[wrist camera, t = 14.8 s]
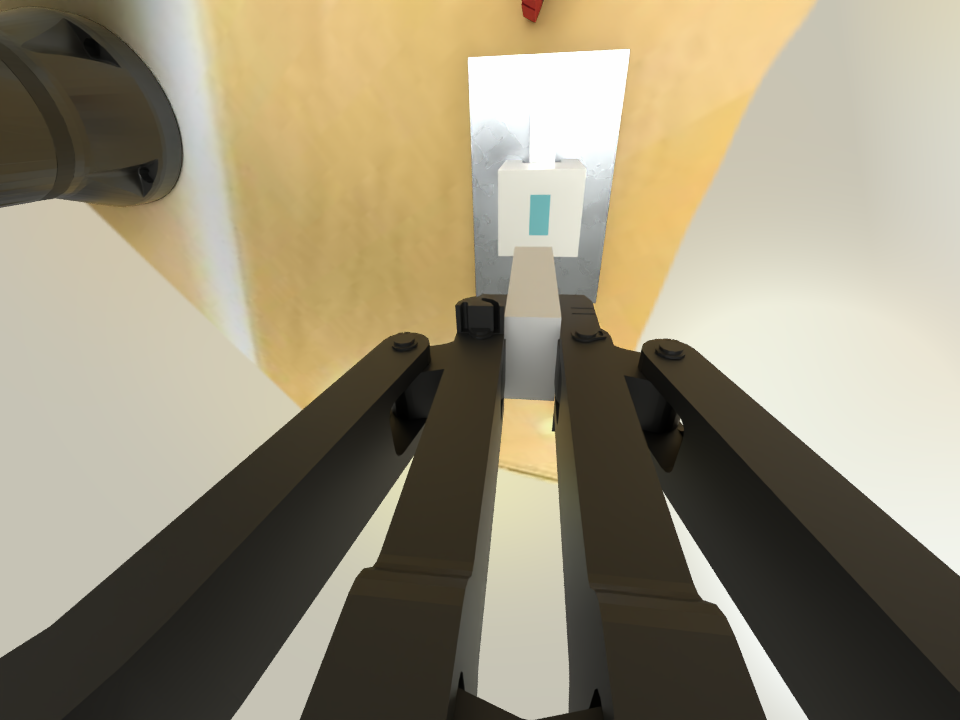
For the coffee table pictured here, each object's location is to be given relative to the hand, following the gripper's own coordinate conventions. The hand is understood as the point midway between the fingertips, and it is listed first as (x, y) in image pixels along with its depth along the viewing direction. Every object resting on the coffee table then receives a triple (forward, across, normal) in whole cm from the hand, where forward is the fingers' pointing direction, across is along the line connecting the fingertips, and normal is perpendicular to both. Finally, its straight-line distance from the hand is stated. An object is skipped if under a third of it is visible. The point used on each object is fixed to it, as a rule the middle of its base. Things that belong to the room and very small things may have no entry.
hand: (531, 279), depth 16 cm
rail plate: (+23, +1, 0) cm, 23 cm away
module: (+22, +1, 0) cm, 22 cm away
